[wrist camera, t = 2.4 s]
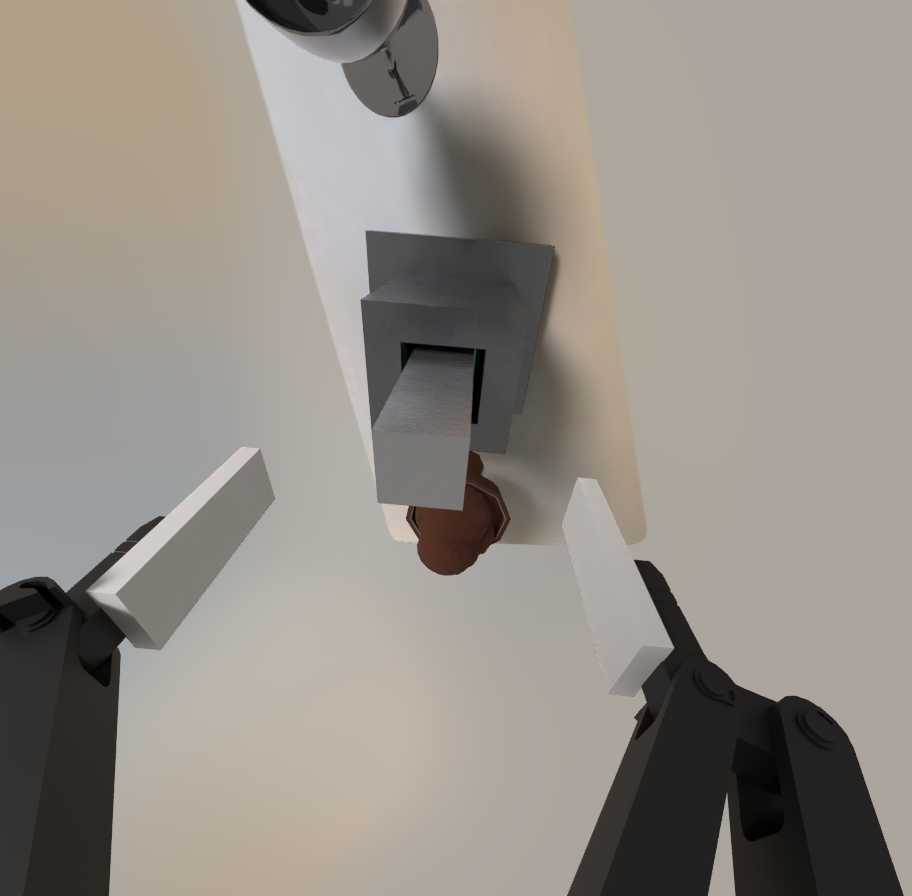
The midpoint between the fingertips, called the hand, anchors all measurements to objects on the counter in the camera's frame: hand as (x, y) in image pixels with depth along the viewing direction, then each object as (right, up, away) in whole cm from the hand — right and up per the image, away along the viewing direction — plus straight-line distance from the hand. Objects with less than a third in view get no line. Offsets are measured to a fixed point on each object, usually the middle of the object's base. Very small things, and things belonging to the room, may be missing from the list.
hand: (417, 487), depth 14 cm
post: (+1, +12, +18) cm, 22 cm away
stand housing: (+2, +14, +20) cm, 24 cm away
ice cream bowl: (+2, -1, +30) cm, 30 cm away
